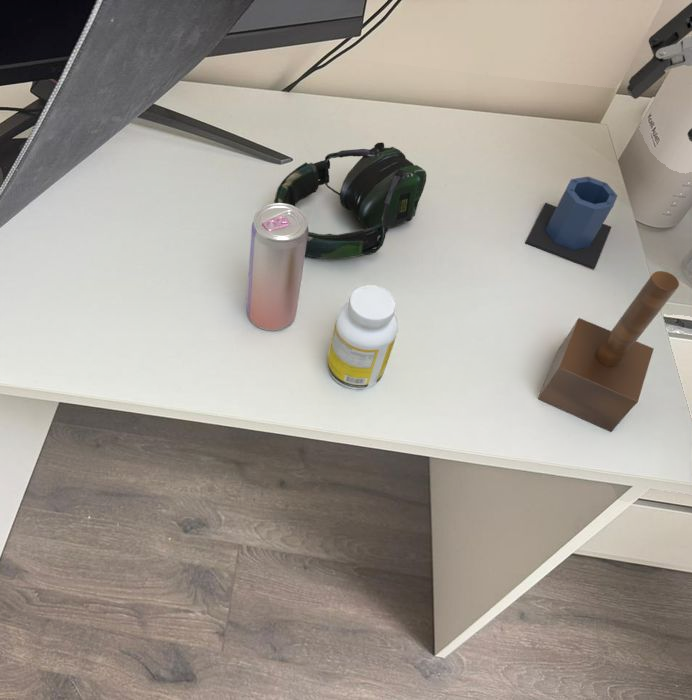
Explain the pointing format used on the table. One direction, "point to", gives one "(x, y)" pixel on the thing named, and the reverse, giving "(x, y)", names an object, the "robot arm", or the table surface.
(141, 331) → the table surface
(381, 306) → the pill bottle
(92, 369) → the table surface
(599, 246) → the pad
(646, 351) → the stand
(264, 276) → the beverage can
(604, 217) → the blue hollow octagonal tube
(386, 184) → the headphones
